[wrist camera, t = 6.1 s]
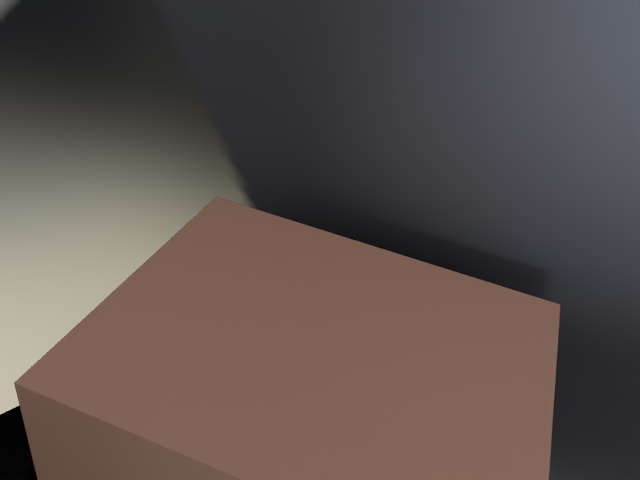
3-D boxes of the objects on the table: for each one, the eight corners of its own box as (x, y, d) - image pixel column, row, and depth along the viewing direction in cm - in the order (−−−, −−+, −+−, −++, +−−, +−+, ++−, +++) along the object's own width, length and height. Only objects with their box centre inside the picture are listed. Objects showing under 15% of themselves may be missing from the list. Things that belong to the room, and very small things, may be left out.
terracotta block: (462, 518, 11) (409, 796, 8) (209, 416, 12) (71, 621, 9) (560, 304, 8) (540, 606, 5) (215, 196, 9) (13, 383, 6)
